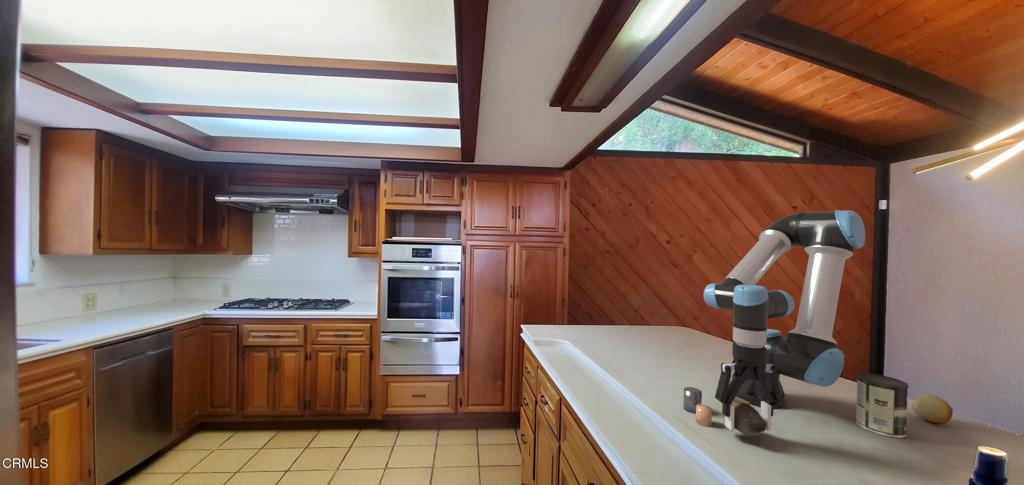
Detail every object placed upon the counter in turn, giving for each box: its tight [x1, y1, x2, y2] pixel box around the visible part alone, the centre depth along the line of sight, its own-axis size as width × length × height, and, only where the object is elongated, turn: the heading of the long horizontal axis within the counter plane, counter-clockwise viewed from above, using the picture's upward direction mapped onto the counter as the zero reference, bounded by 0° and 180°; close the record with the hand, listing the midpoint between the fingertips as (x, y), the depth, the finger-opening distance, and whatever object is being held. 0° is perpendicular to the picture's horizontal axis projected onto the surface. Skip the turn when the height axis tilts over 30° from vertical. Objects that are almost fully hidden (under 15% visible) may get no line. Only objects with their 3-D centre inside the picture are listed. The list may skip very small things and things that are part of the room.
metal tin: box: [682, 386, 703, 415], centre depth 112 cm, size 5×5×6 cm
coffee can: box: [855, 372, 909, 439], centre depth 103 cm, size 10×10×14 cm
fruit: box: [911, 393, 954, 425], centre depth 108 cm, size 8×8×8 cm
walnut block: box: [721, 396, 751, 416], centre depth 108 cm, size 5×5×5 cm
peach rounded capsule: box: [695, 404, 713, 428], centre depth 104 cm, size 4×4×4 cm
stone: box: [723, 403, 766, 436], centre depth 97 cm, size 10×8×10 cm
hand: (747, 427), depth 96 cm, fingers closed on stone, 9 cm apart
